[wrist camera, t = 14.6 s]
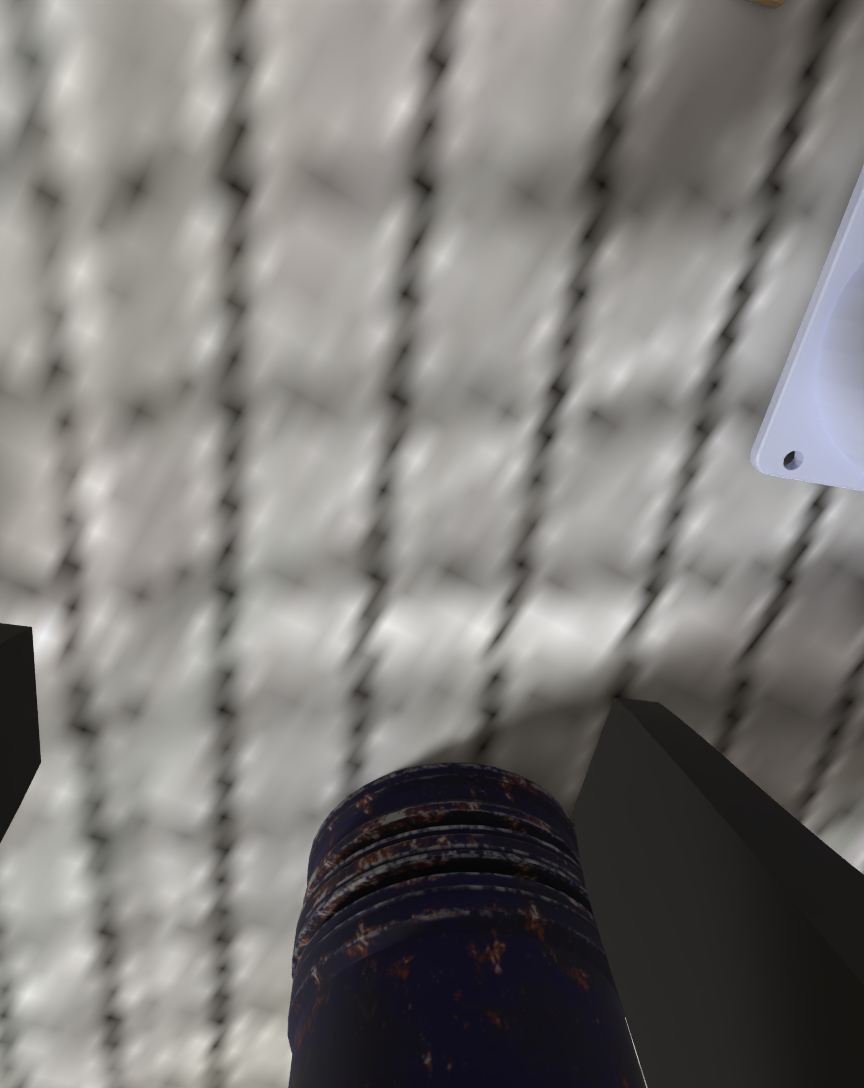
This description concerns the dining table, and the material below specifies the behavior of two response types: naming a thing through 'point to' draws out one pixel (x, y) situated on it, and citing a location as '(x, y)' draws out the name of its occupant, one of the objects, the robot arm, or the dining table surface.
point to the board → (769, 2)
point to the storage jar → (452, 943)
